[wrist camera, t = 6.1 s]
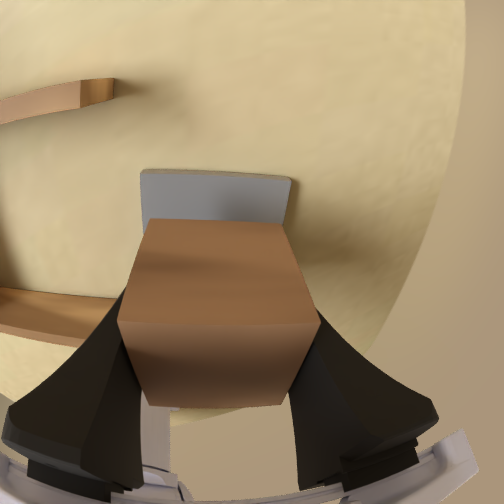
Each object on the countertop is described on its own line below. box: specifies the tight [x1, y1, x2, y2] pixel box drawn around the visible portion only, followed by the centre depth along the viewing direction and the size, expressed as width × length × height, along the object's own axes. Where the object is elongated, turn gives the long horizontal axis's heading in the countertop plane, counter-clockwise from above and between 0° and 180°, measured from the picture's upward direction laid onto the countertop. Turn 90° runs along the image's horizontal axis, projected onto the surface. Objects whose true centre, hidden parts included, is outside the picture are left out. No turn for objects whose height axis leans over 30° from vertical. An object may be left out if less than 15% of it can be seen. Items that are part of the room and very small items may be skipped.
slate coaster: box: [140, 170, 292, 234], centre depth 14 cm, size 7×7×1 cm
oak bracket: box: [0, 78, 117, 348], centre depth 11 cm, size 14×13×4 cm
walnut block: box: [117, 218, 321, 408], centre depth 10 cm, size 5×5×5 cm
